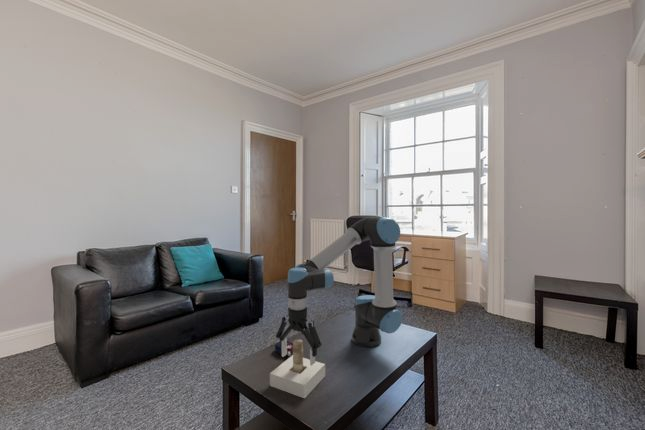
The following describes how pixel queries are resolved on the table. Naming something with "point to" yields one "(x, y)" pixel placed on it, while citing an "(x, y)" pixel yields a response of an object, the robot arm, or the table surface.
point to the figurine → (289, 348)
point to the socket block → (297, 377)
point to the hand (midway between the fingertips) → (298, 359)
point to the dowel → (298, 356)
